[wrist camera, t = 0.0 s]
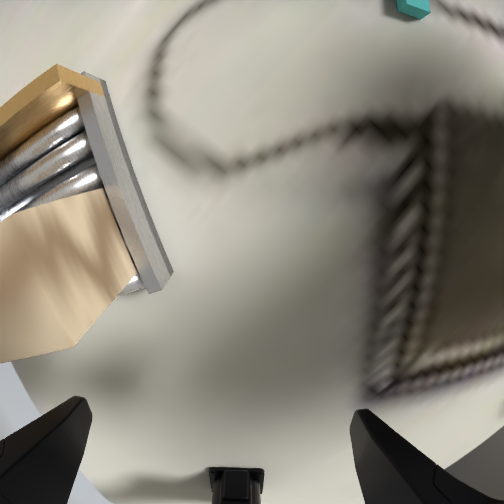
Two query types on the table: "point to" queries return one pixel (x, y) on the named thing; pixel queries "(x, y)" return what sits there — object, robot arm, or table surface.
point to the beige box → (58, 273)
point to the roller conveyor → (76, 162)
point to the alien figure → (414, 7)
